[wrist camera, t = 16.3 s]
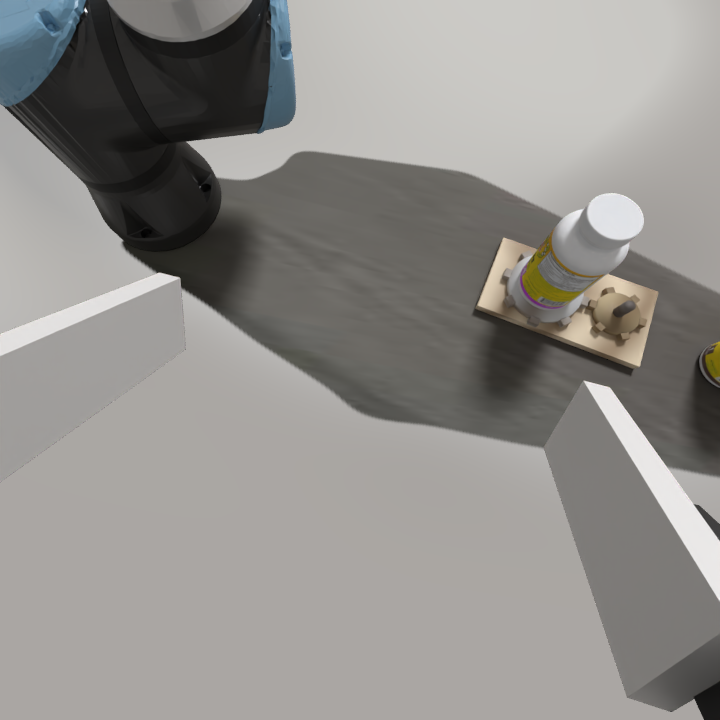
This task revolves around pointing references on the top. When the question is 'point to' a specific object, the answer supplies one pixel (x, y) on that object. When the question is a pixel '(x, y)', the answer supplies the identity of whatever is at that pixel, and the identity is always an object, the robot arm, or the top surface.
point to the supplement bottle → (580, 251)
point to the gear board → (573, 309)
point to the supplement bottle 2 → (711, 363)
